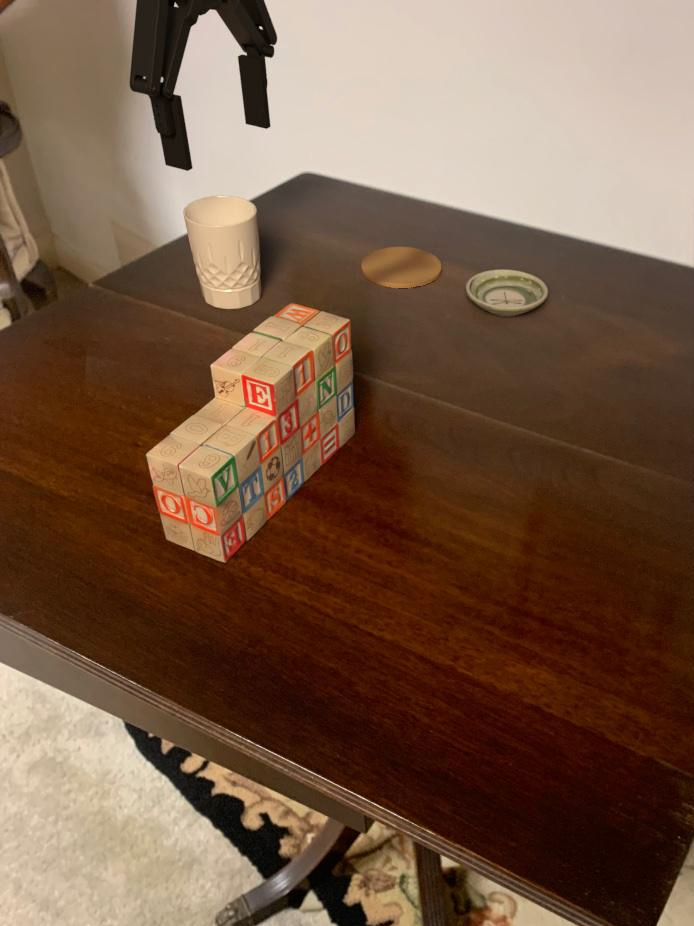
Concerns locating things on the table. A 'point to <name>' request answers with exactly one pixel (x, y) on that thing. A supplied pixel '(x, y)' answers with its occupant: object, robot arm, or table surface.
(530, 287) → the saucer
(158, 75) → the robot arm
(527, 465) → the table surface
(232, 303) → the white cup
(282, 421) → the stack of blocks
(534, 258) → the table surface
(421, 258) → the cork coaster
